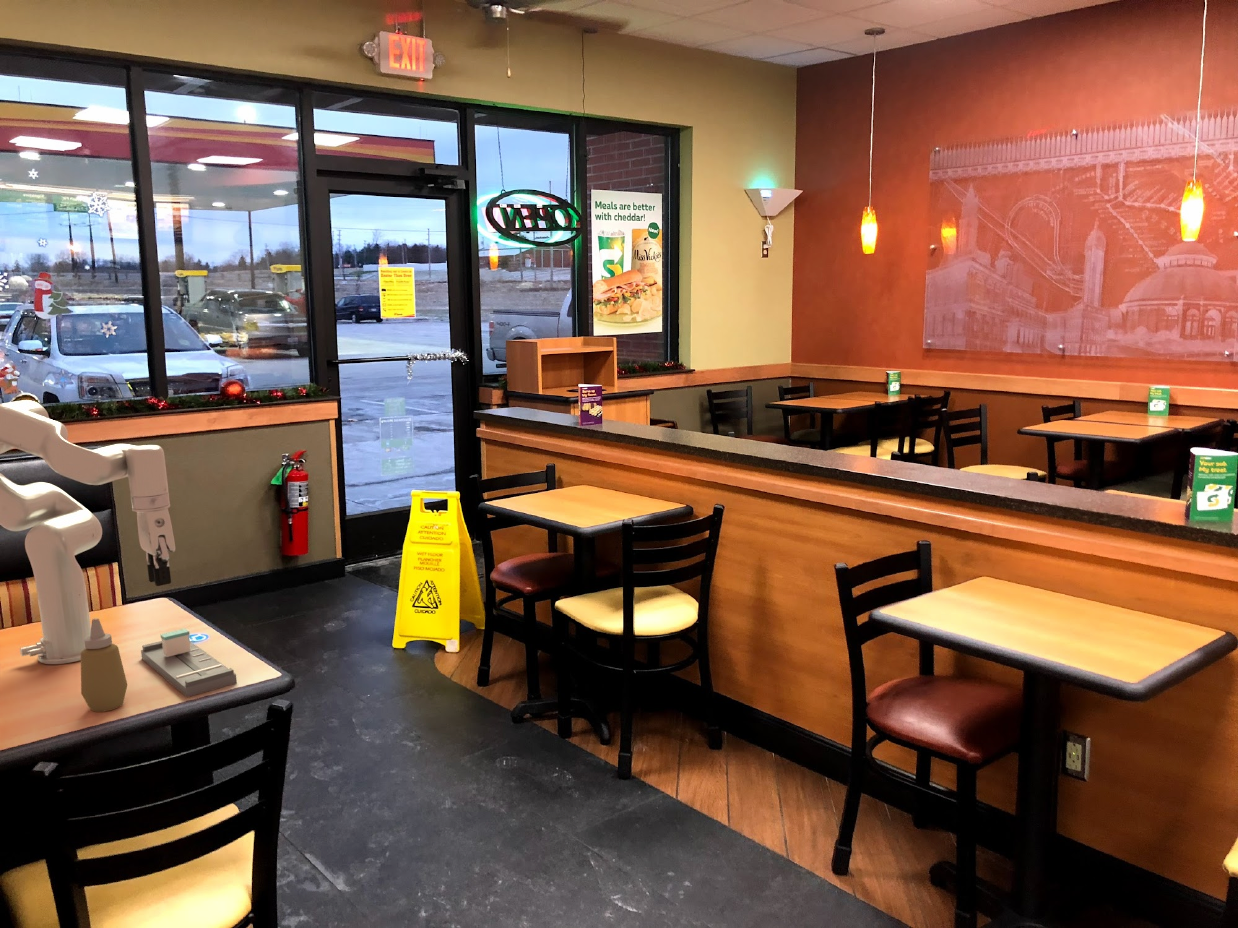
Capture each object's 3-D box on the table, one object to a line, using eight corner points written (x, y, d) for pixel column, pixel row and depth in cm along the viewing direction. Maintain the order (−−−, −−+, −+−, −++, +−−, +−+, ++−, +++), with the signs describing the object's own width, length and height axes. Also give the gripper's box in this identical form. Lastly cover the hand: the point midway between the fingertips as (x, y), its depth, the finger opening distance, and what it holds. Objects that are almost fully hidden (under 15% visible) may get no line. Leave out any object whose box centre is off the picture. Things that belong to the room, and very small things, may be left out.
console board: (186, 697, 196) (185, 683, 196) (141, 658, 218) (140, 645, 218) (236, 682, 203) (235, 669, 202) (188, 647, 225) (186, 634, 224)
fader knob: (166, 657, 212) (164, 637, 211) (162, 653, 214) (160, 634, 213) (191, 650, 215) (189, 631, 214) (187, 647, 217) (185, 628, 216)
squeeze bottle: (83, 718, 187) (71, 629, 184) (84, 703, 195) (72, 617, 191) (130, 709, 191) (118, 621, 188) (129, 694, 198) (118, 610, 195)
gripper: (181, 504, 210) (190, 586, 213) (156, 494, 222) (166, 571, 225) (143, 510, 205) (154, 594, 208) (121, 499, 217) (131, 578, 220)
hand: (160, 581), depth 217 cm, fingers open, 3 cm apart
